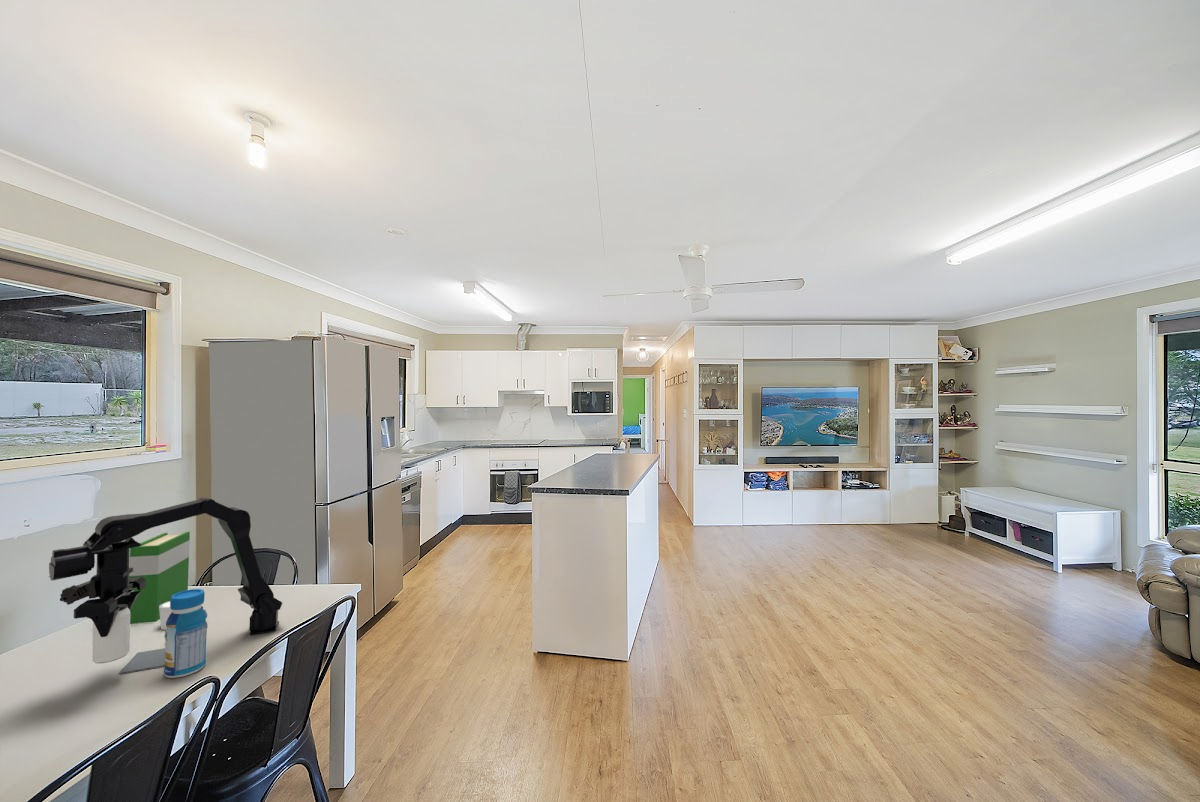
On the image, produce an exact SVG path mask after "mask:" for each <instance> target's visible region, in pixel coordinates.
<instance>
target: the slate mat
mask: <svg viewBox="0 0 1200 802" xmlns="http://www.w3.org/2000/svg"><path fill="white" fill-rule="evenodd" d="M164 667H165V647H164V648H158V649H152V650H151V649H150V650H144V651H140V652H137V653H136V654H135V655H134V656H133V657H132V658H131V659H130V660H129V661H128V662H127V663H126V664H125V665H124V667H122V669H121V670H119V672H118V674H120V675H124V674H130V673H135V672H136V673H137V672H141V671H147V670H152V669H158V668H159V669H160V668H164ZM118 674H117V675H118Z"/></svg>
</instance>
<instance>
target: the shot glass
mask: <svg viewBox="0 0 1200 802" xmlns="http://www.w3.org/2000/svg"><path fill="white" fill-rule="evenodd" d="M159 612H160V619H159V622H160V629H161V630H163V631H164V630H165V631H166V630H167V627H166V621H167V619H168V617H169V615H170V614H171V613H172V612H173V611H172V610H171V608H170V601H169V602H165V603H163V604H161V605H160V606H159Z"/></svg>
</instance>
